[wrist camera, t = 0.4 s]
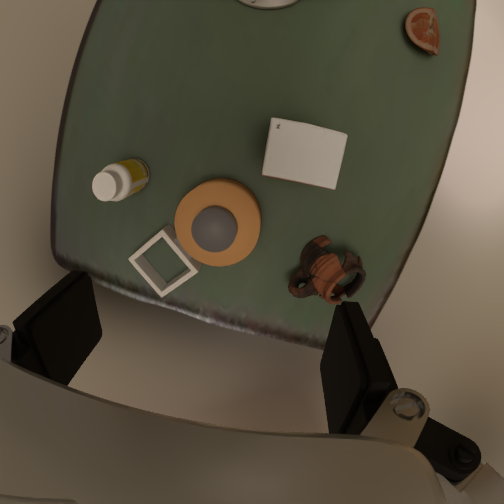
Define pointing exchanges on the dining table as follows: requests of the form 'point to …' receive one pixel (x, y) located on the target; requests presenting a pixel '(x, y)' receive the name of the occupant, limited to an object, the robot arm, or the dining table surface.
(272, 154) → the small box
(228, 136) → the dining table surface
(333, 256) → the brown curved piece
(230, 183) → the disc and frame
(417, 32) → the fruit slice
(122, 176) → the supplement bottle
